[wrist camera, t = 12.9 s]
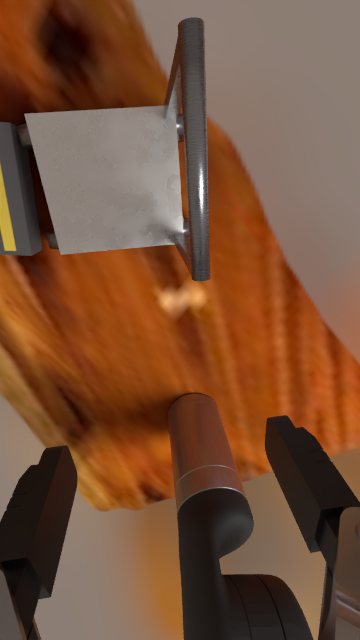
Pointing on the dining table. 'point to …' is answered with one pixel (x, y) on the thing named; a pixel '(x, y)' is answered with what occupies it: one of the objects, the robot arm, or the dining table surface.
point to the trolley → (130, 167)
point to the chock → (16, 197)
